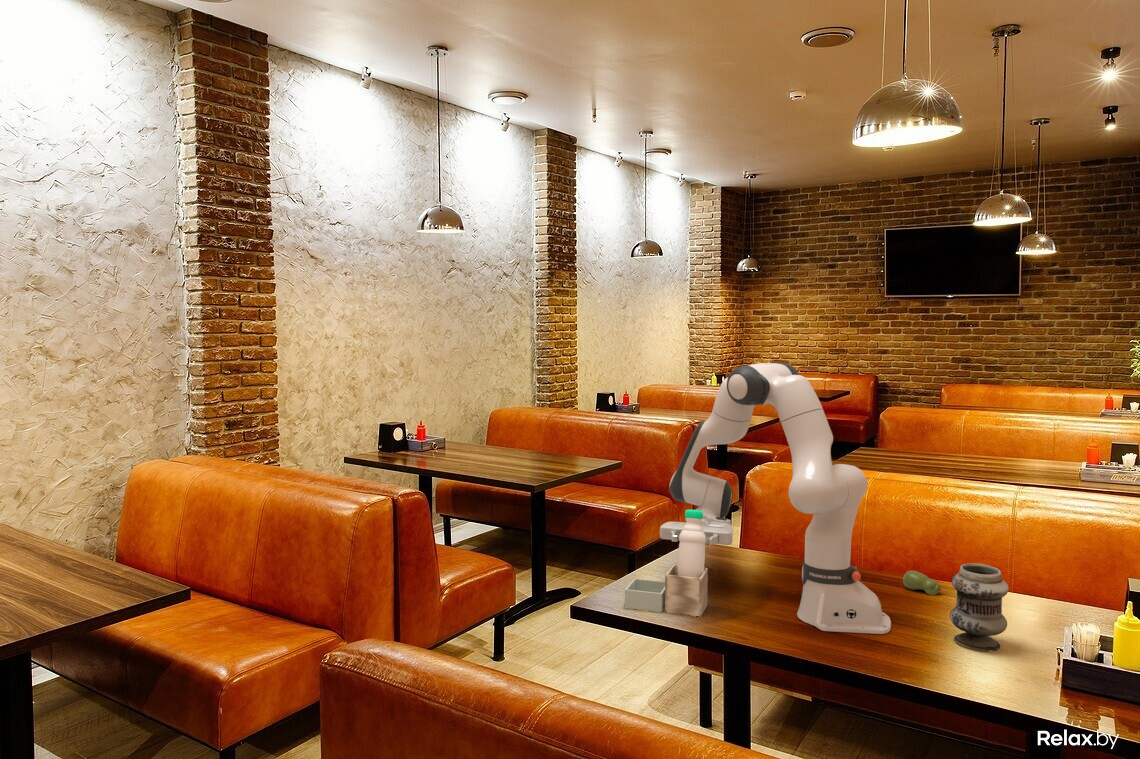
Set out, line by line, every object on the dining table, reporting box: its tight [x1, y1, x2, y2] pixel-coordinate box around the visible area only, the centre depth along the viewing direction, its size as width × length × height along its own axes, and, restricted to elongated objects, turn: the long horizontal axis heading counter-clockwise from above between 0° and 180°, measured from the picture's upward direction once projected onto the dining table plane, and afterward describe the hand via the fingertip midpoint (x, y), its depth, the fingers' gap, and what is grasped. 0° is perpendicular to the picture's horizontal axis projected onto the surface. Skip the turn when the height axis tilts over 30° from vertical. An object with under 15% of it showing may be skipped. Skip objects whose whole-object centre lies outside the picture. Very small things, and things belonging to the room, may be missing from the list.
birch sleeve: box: [664, 564, 708, 618], centre depth 209 cm, size 9×9×10 cm
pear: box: [902, 570, 942, 596], centre depth 223 cm, size 6×5×10 cm
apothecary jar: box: [949, 562, 1009, 652], centre depth 186 cm, size 12×12×18 cm
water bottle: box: [677, 509, 706, 578], centre depth 210 cm, size 7×7×25 cm
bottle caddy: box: [624, 577, 665, 613], centre depth 213 cm, size 10×10×5 cm
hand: (691, 540), depth 215 cm, fingers open, 8 cm apart
